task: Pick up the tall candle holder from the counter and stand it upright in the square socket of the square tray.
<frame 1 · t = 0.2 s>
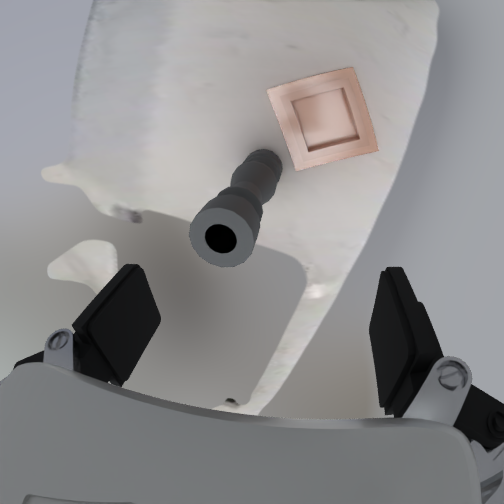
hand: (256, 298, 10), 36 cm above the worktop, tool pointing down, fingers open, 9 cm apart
candle holder: (263, 166, 44), on the worktop
square tray: (324, 118, 38), on the worktop
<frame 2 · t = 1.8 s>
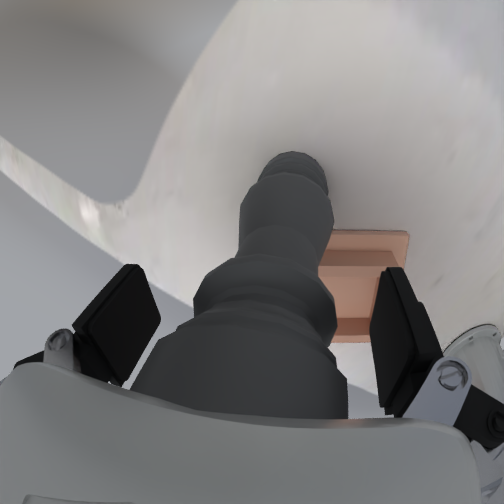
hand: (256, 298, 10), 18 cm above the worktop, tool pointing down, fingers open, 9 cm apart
candle holder: (294, 182, 26), on the worktop
square tray: (339, 286, 30), on the worktop
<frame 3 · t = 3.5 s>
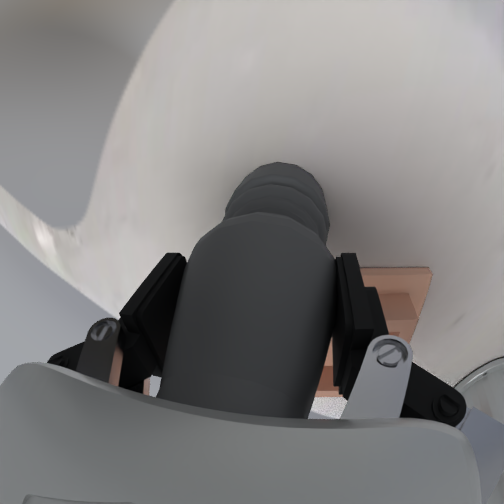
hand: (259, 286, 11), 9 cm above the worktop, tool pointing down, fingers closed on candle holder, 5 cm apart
candle holder: (280, 205, 19), on the worktop, touching gripper
square tray: (339, 331, 23), on the worktop
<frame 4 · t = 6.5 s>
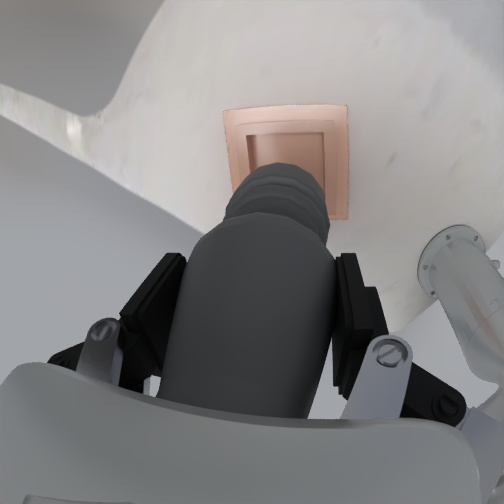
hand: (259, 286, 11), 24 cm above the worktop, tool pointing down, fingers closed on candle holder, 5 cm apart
candle holder: (280, 205, 19), point 15 cm above the worktop, touching gripper
square tray: (288, 162, 31), on the worktop
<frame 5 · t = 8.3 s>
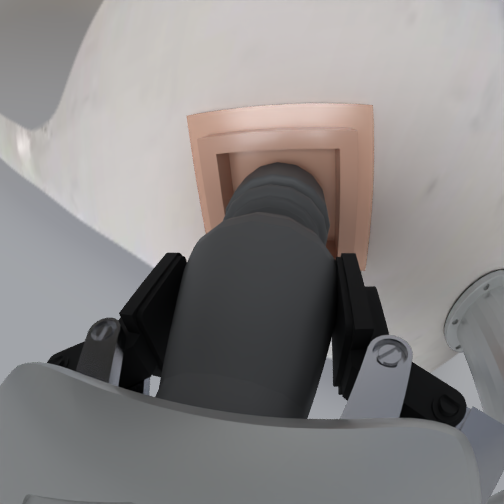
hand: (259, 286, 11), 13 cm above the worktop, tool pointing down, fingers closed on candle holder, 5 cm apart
candle holder: (281, 205, 19), point 4 cm above the worktop, touching gripper
square tray: (284, 190, 22), on the worktop
when the fingers open (11 cm above the worktop, at t = 9.6 s): candle holder stays where it is, resting on square tray.
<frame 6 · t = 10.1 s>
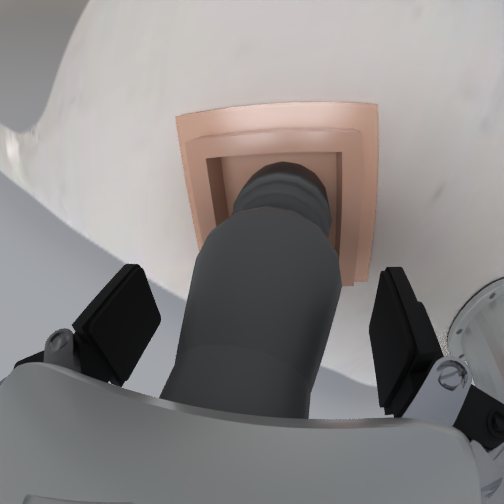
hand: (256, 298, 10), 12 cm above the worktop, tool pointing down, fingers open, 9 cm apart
candle holder: (285, 202, 20), point 1 cm above the worktop, touching square tray
square tray: (281, 196, 20), on the worktop
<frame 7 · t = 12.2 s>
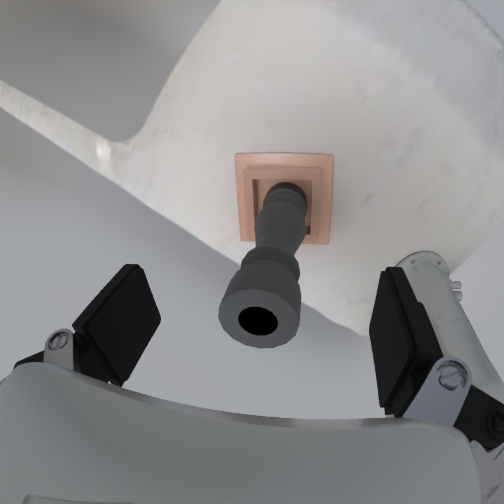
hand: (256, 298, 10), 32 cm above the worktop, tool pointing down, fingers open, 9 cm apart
candle holder: (286, 201, 40), point 1 cm above the worktop, touching square tray
square tray: (284, 198, 41), on the worktop
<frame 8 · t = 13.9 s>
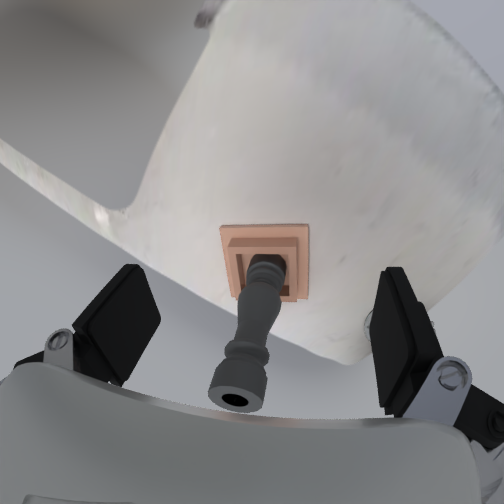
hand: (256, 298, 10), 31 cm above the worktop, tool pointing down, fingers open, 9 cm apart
candle holder: (268, 266, 46), point 1 cm above the worktop, touching square tray
square tray: (266, 262, 47), on the worktop
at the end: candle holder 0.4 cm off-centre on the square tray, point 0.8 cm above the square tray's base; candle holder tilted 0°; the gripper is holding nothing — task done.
